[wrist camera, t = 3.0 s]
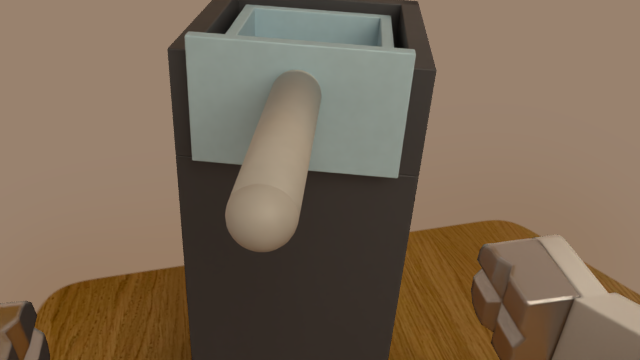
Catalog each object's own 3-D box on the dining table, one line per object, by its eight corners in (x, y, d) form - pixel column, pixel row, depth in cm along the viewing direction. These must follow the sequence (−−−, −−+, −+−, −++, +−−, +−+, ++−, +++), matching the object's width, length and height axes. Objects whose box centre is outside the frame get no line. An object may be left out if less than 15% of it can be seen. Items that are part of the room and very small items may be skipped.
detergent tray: (103, 324, 17) (73, 157, 14) (237, 75, 35) (236, -24, 32) (411, 355, 17) (443, 190, 14) (391, 87, 34) (403, -11, 31)
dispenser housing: (198, 444, 38) (167, 48, 24) (232, 320, 47) (224, -14, 34) (370, 462, 37) (436, 70, 24) (370, 334, 47) (418, 1, 33)
